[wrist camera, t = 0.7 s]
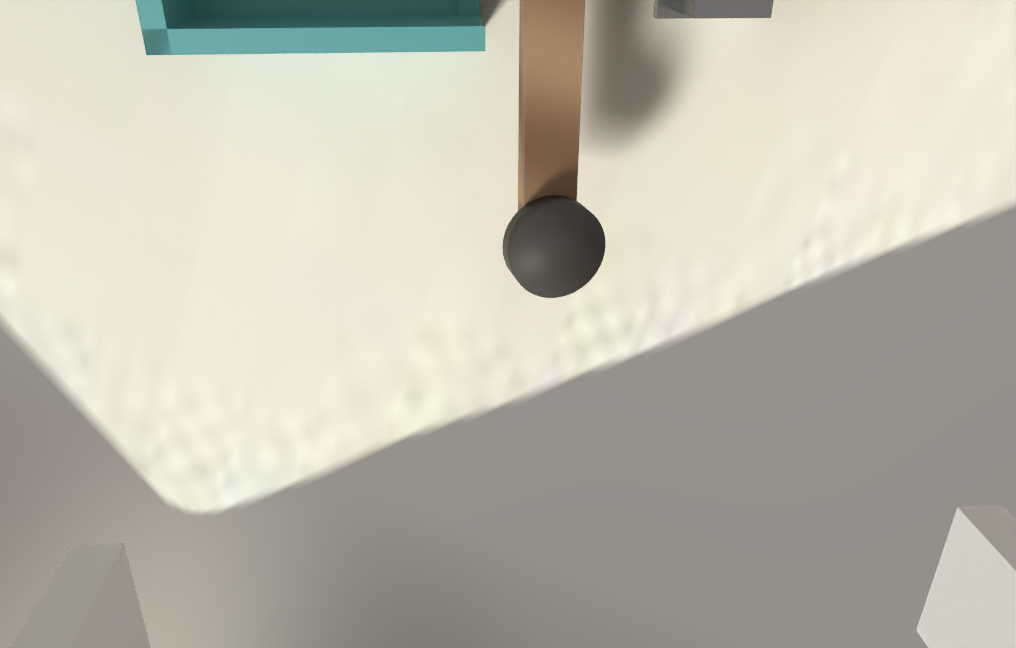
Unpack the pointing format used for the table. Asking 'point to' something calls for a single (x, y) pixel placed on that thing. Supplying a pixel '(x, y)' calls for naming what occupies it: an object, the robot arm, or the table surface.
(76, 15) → the table surface
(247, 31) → the tray
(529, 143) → the lever
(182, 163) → the table surface
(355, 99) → the table surface
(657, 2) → the stand
